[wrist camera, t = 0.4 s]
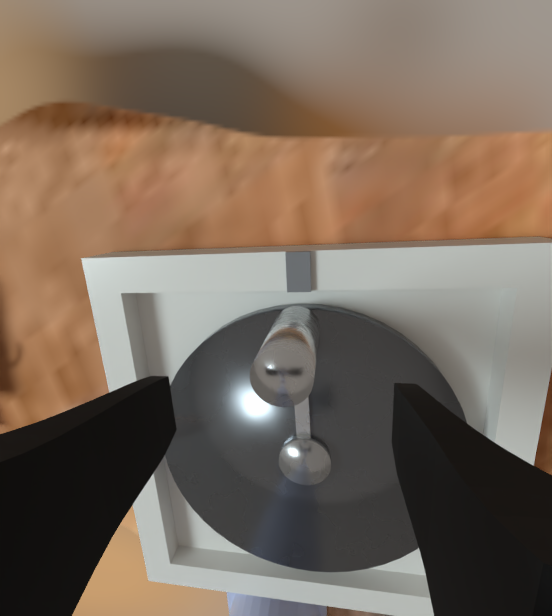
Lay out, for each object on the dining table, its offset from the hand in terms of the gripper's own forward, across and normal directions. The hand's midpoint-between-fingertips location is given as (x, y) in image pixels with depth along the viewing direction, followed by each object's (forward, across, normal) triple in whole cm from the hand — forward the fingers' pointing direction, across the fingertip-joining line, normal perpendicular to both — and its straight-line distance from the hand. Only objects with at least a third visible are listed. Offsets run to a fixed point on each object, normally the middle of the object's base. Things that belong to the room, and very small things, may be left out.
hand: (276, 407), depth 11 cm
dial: (+9, 0, +8) cm, 12 cm away
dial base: (+10, 0, +8) cm, 13 cm away
